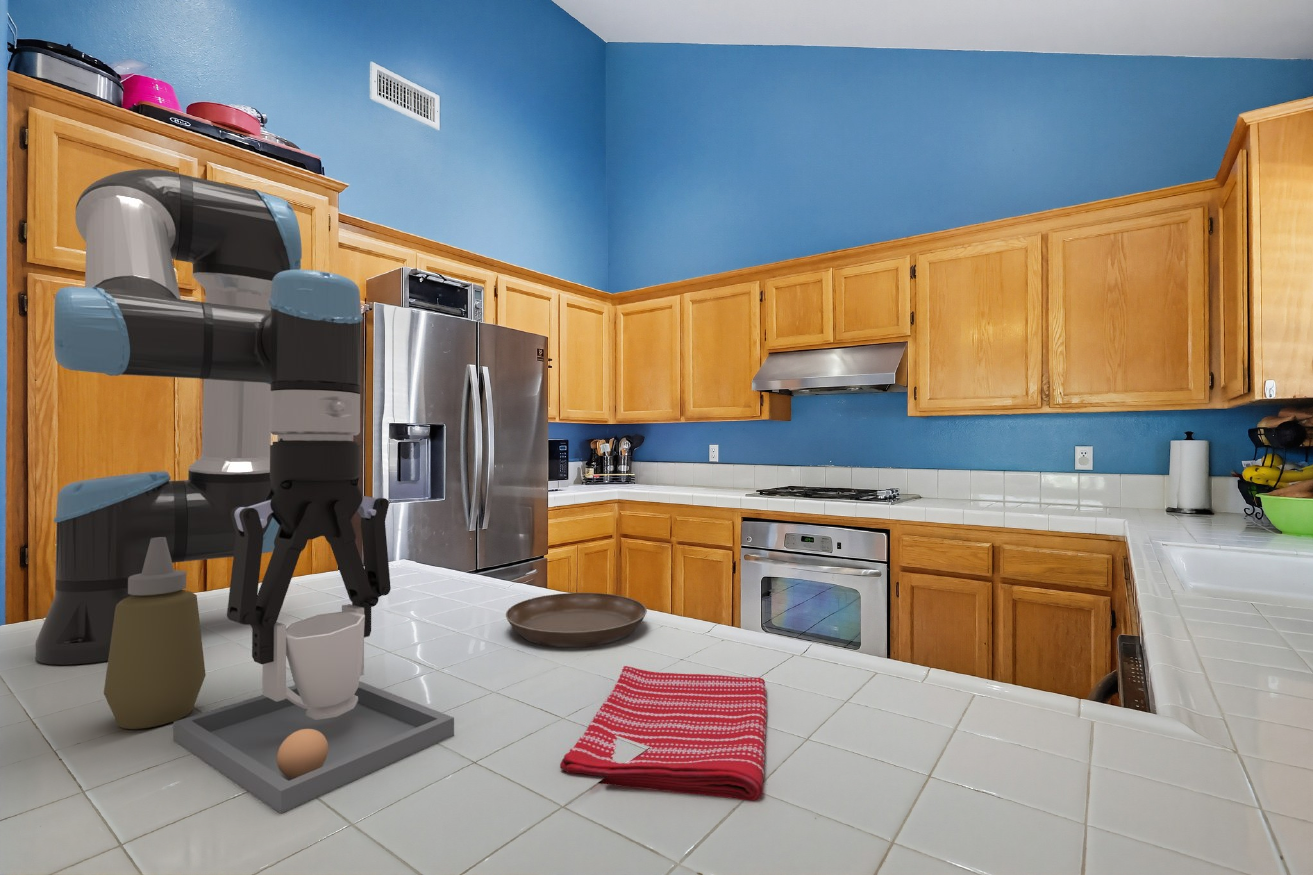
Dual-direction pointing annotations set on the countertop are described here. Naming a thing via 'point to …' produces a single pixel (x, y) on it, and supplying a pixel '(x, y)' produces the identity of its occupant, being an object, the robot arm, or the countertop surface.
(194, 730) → the tray
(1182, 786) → the countertop surface
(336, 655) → the cup
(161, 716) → the squeeze bottle
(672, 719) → the dish towel
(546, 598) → the plant saucer
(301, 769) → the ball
